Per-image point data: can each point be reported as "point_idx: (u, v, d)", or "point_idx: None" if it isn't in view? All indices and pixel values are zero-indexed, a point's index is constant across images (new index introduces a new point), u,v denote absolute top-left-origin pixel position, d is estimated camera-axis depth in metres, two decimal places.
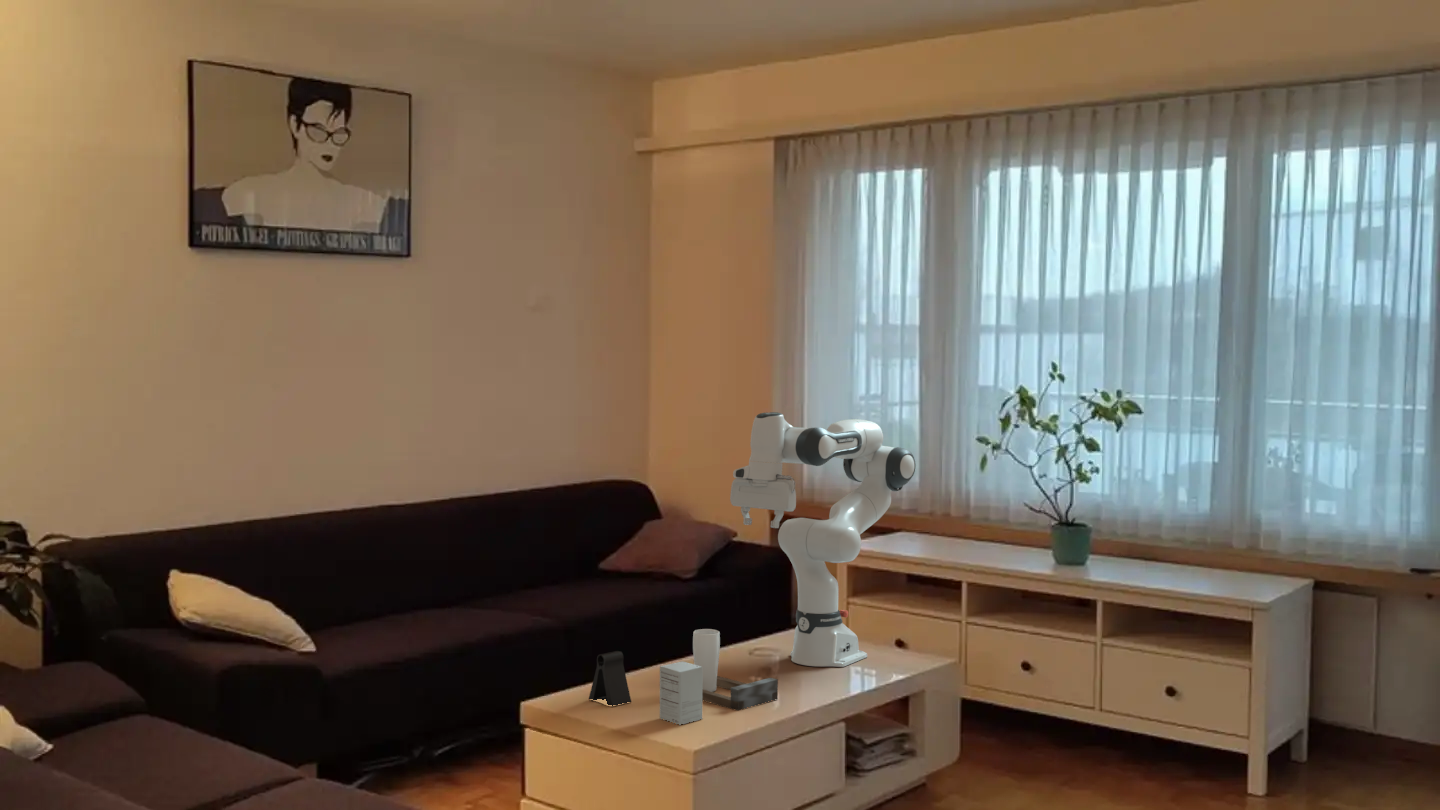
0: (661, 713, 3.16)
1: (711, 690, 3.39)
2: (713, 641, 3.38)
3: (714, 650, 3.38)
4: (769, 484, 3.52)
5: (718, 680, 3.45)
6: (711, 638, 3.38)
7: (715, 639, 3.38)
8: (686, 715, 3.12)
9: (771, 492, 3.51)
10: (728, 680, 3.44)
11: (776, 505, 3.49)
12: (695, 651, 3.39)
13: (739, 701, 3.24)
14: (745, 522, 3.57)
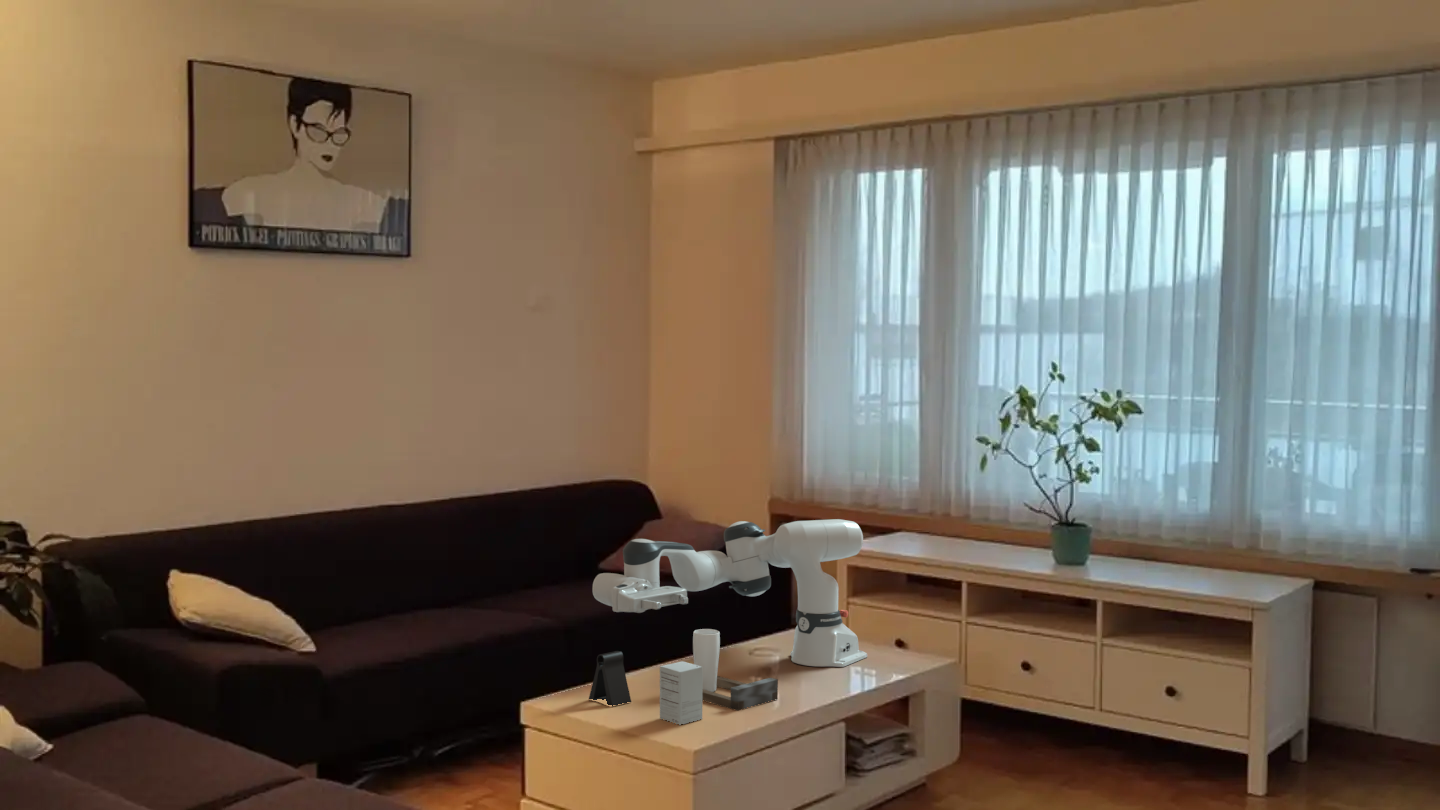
0: (661, 713, 3.16)
1: (711, 690, 3.39)
2: (713, 641, 3.38)
3: (714, 650, 3.38)
4: (653, 588, 3.60)
5: (718, 680, 3.45)
6: (711, 638, 3.38)
7: (715, 639, 3.38)
8: (686, 715, 3.12)
9: None
10: (728, 680, 3.44)
11: (675, 589, 3.58)
12: (695, 651, 3.39)
13: (739, 701, 3.24)
14: (657, 602, 3.46)
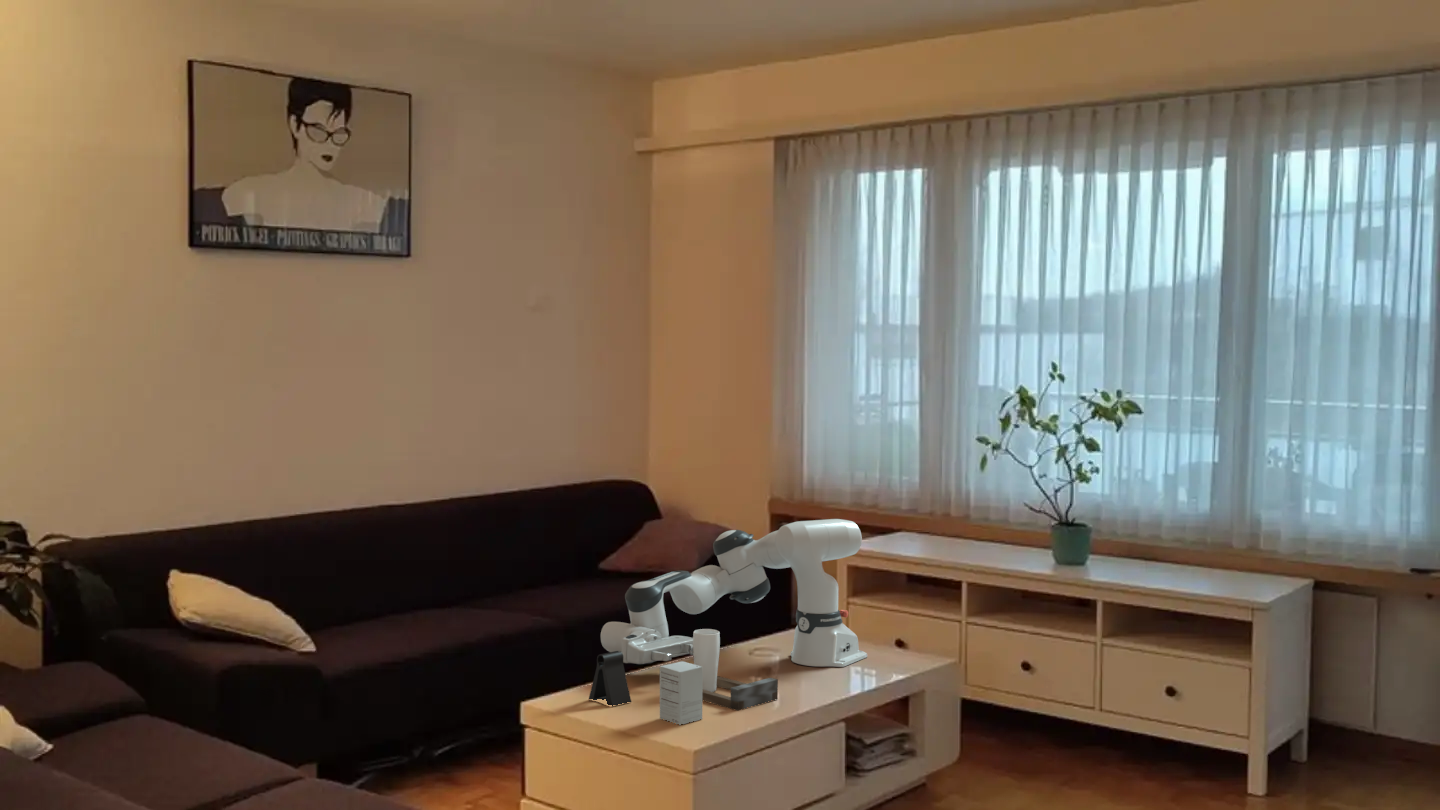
0: (661, 713, 3.16)
1: (711, 690, 3.39)
2: (713, 641, 3.38)
3: (714, 650, 3.38)
4: (663, 638, 3.57)
5: (718, 680, 3.45)
6: (711, 638, 3.38)
7: (715, 639, 3.38)
8: (686, 715, 3.12)
9: (670, 640, 3.56)
10: (728, 680, 3.44)
11: (684, 639, 3.55)
12: (695, 651, 3.39)
13: (739, 701, 3.24)
14: (667, 653, 3.43)
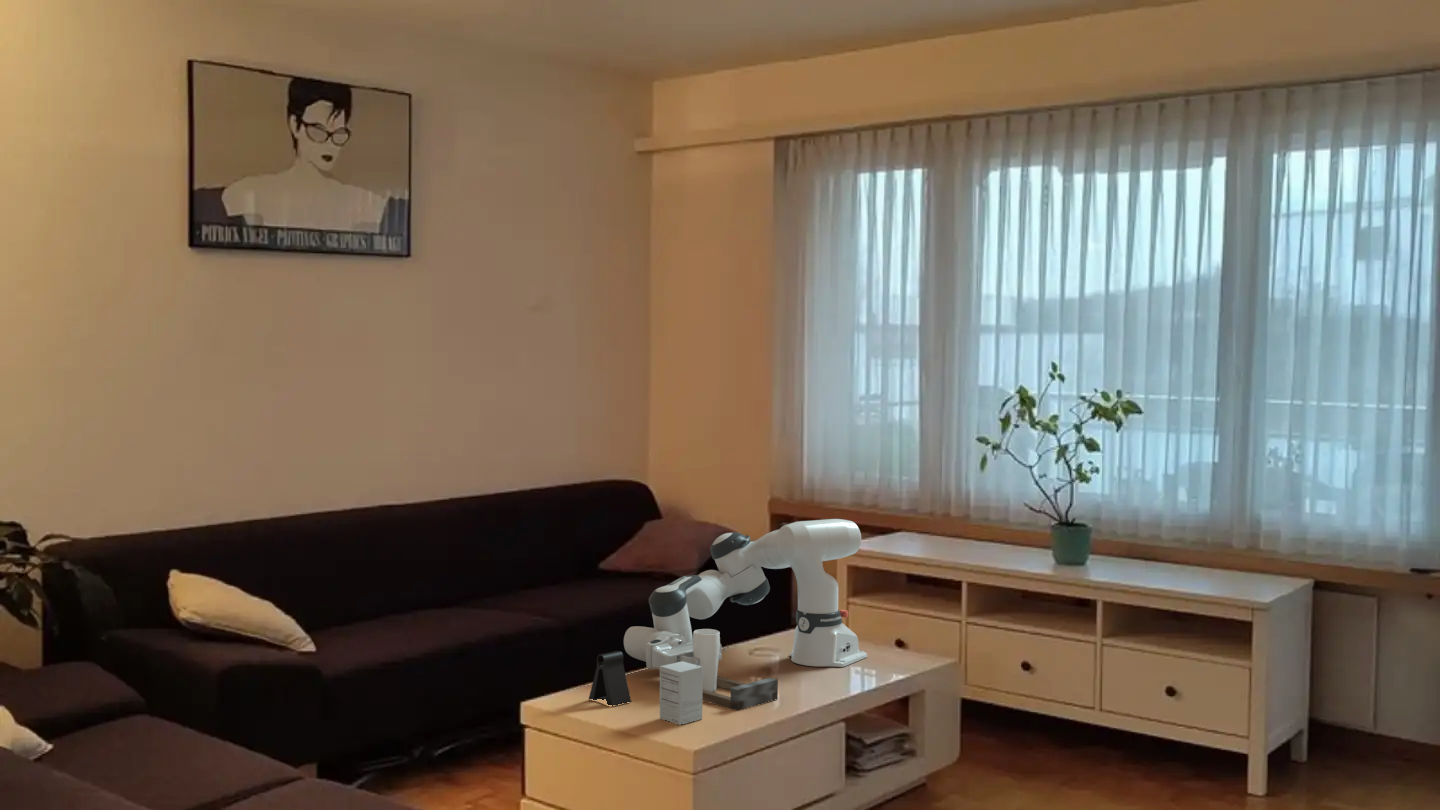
0: (661, 713, 3.16)
1: (711, 690, 3.39)
2: (713, 641, 3.38)
3: (714, 650, 3.38)
4: (687, 643, 3.51)
5: (718, 680, 3.45)
6: (711, 638, 3.38)
7: (715, 639, 3.38)
8: (686, 715, 3.12)
9: None
10: (728, 680, 3.44)
11: None
12: (695, 651, 3.39)
13: (739, 701, 3.24)
14: (696, 658, 3.38)
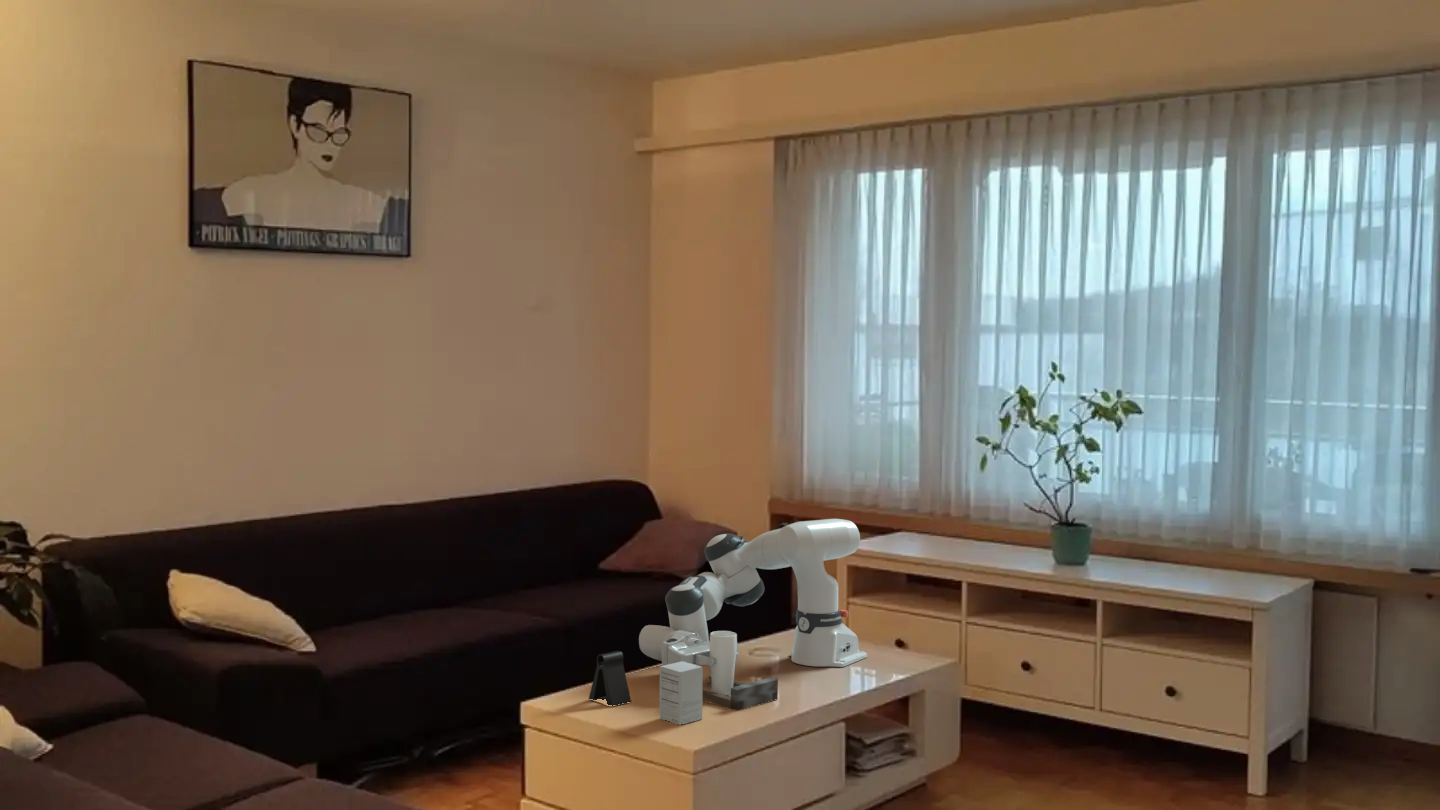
0: (661, 713, 3.16)
1: (728, 693, 3.34)
2: (730, 643, 3.33)
3: (731, 652, 3.33)
4: (704, 642, 3.46)
5: None
6: (728, 641, 3.33)
7: (733, 641, 3.33)
8: (686, 715, 3.12)
9: None
10: None
11: None
12: (712, 653, 3.34)
13: (739, 701, 3.24)
14: (712, 657, 3.33)
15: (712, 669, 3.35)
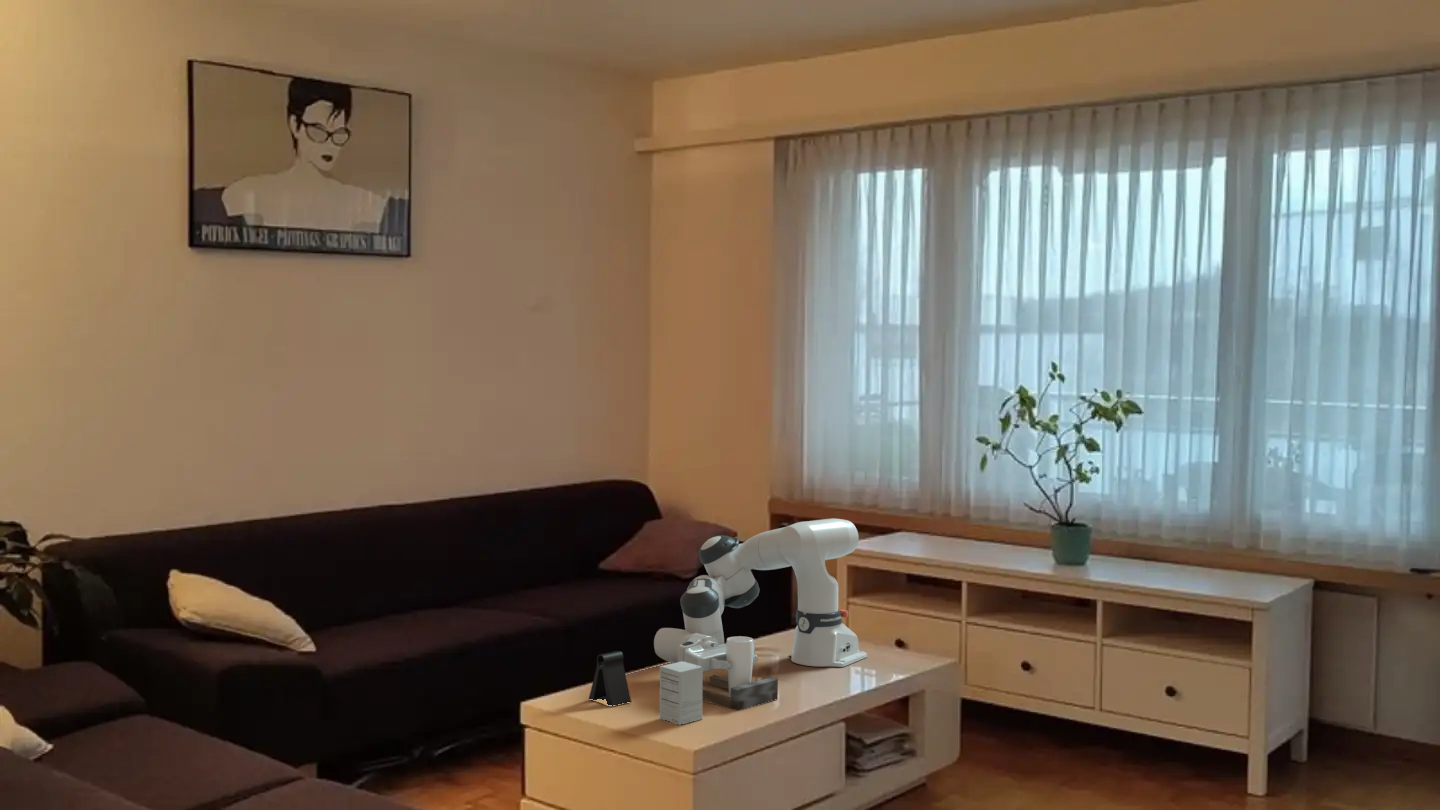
0: (661, 713, 3.16)
1: None
2: (747, 648, 3.30)
3: (748, 658, 3.30)
4: (720, 645, 3.42)
5: (718, 680, 3.45)
6: (745, 646, 3.30)
7: (750, 646, 3.30)
8: (686, 715, 3.12)
9: None
10: None
11: None
12: (729, 659, 3.31)
13: (739, 701, 3.24)
14: (727, 661, 3.29)
15: (729, 675, 3.32)
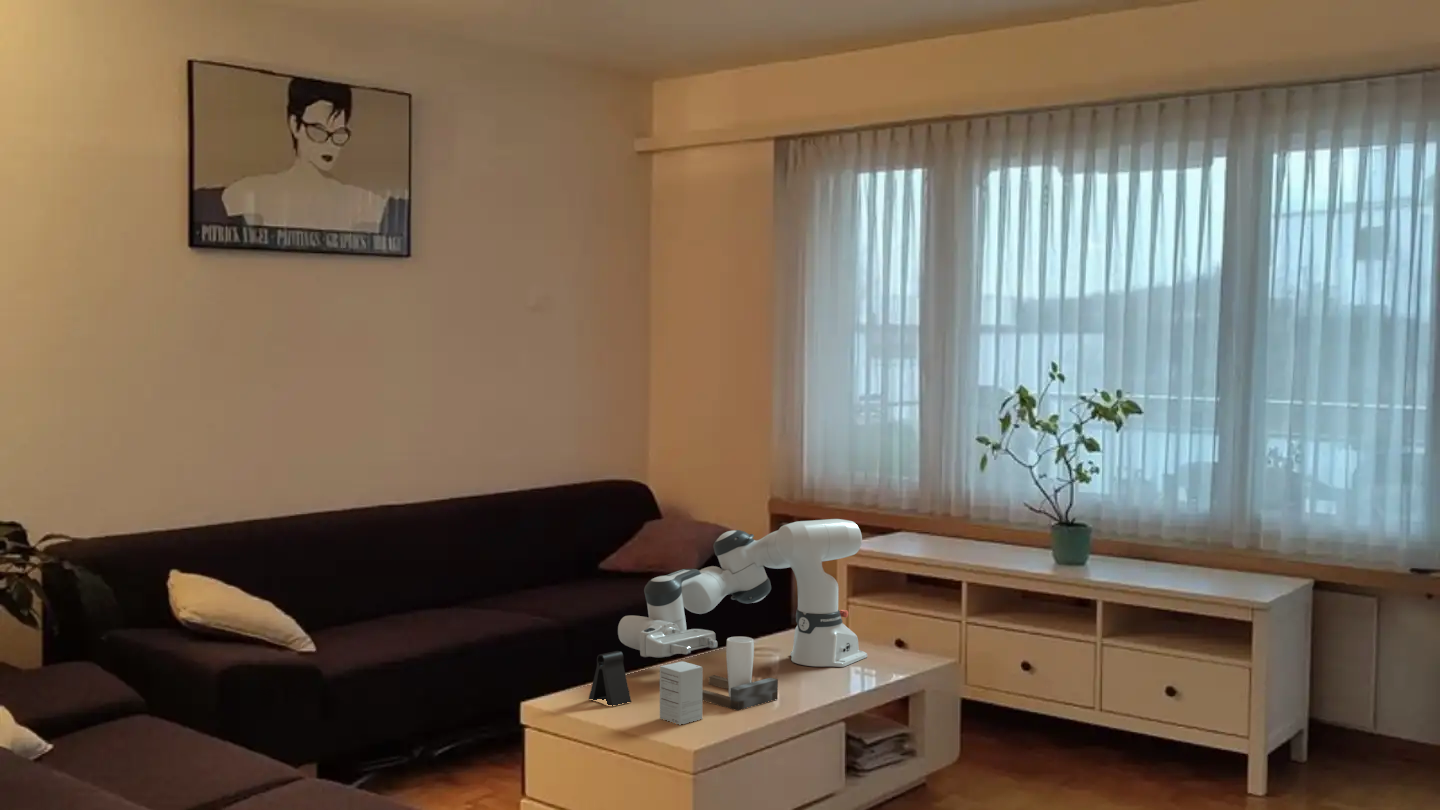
0: (661, 713, 3.16)
1: None
2: (747, 649, 3.30)
3: (748, 658, 3.30)
4: (681, 631, 3.52)
5: (718, 680, 3.45)
6: (745, 646, 3.30)
7: (750, 647, 3.30)
8: (686, 715, 3.12)
9: None
10: None
11: (703, 632, 3.50)
12: (729, 659, 3.31)
13: (739, 701, 3.24)
14: (687, 646, 3.39)
15: (729, 675, 3.31)
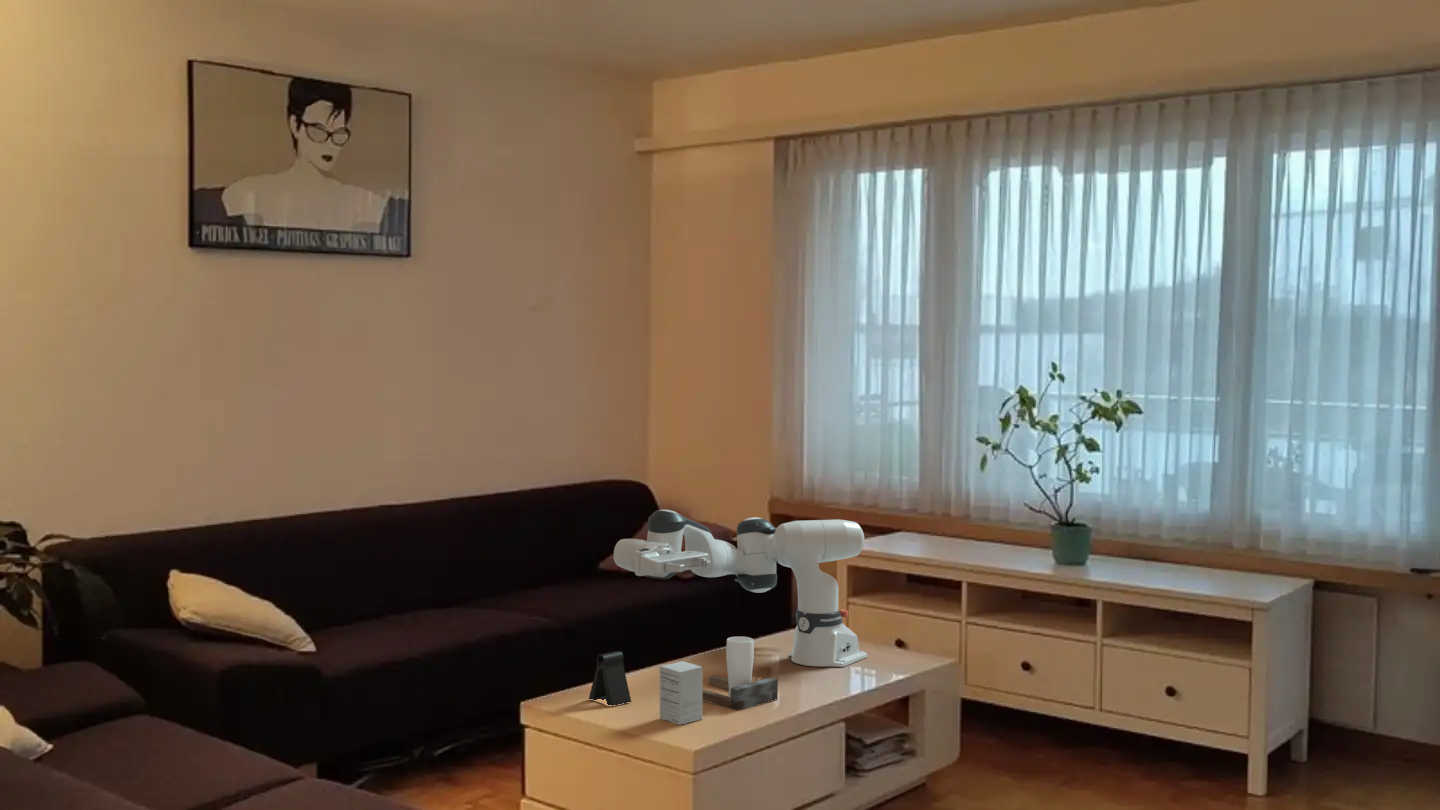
0: (661, 713, 3.16)
1: None
2: (747, 649, 3.30)
3: (748, 658, 3.30)
4: (675, 552, 3.58)
5: (718, 680, 3.45)
6: (745, 646, 3.30)
7: (750, 646, 3.30)
8: (686, 715, 3.12)
9: None
10: None
11: (697, 554, 3.57)
12: (729, 659, 3.31)
13: (739, 701, 3.24)
14: (681, 565, 3.45)
15: (729, 675, 3.31)
